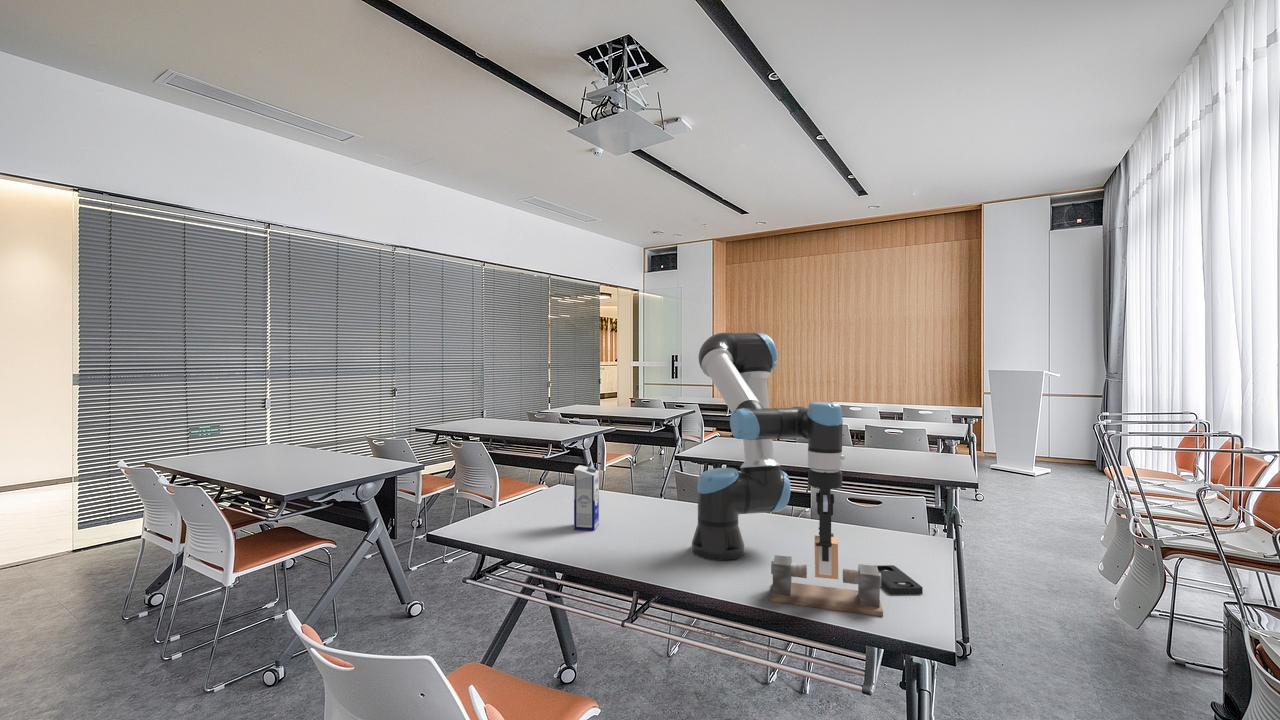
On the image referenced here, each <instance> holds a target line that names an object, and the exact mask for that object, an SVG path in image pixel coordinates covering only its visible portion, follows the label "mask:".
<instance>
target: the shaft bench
mask: <svg viewBox="0 0 1280 720" xmlns="http://www.w3.org/2000/svg"><path fill="white" fill-rule="evenodd" d="M792 559H793V558H792V556H786V555H778V554H777V555H776V554H775V555H774V557H773V560H771V564H770V574H771V575H772V584H771V589H770V595H769V602H770V603H771V602H772V603H779V604H786V605H787V604H788V605H794V606H802V607H811V608H818V609H824V610H831V611H839V612H847V613H855V614H861V615H868V616H869V615H870V616H878V617H884V610H883V606H882V603H881V597H880V596H881V595H880V593H881V591H880V590H881V589H880V588H882V586H881V573H879V571H878V568H877V566H878V565H870V564H860V563H858V569H848V568H847V569H846V568H842V583H845V584H852V585H857V587H858V588H857V589H858V590H856V589H849V588H848V589H846V588H841V587H840V588H839V587H833V586H823V585H822V586H821V585H817V584H815V585H814V584H807V583H799V582H793V581H792V578H802V579H807V577H808V575H807V574H808V573H807V572H808V569H807V568H808V566H807V564H805V563H804V564H803V563H794V562H792V561H793V560H792Z"/></svg>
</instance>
